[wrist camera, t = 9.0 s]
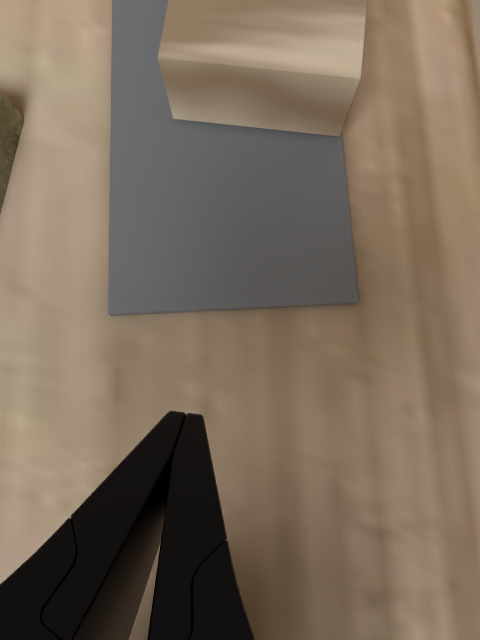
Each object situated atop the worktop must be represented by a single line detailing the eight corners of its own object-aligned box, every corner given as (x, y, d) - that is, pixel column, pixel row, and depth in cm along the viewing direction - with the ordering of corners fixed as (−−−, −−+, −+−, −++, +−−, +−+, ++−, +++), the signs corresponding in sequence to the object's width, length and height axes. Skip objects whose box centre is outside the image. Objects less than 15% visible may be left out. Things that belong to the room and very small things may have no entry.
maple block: (360, 78, 20) (375, -93, 22) (157, 57, 20) (189, -110, 22) (337, 140, 25) (351, -4, 27) (174, 122, 25) (199, -19, 27)
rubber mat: (356, 303, 23) (358, 301, 23) (111, 315, 23) (108, 313, 23) (323, -23, 27) (324, -31, 27) (114, -13, 27) (112, -20, 27)
